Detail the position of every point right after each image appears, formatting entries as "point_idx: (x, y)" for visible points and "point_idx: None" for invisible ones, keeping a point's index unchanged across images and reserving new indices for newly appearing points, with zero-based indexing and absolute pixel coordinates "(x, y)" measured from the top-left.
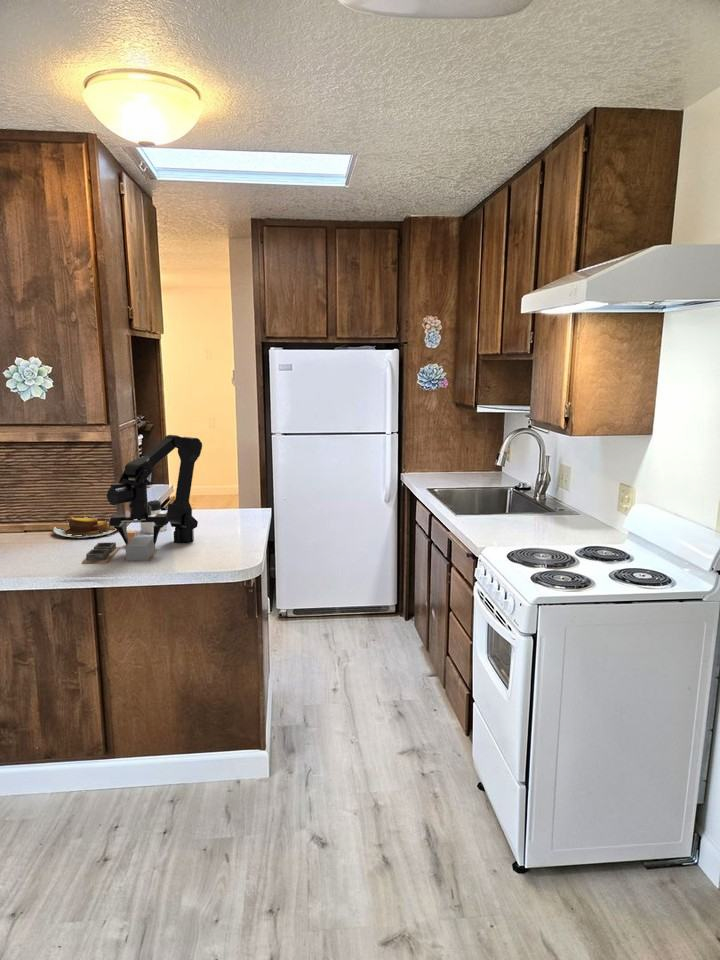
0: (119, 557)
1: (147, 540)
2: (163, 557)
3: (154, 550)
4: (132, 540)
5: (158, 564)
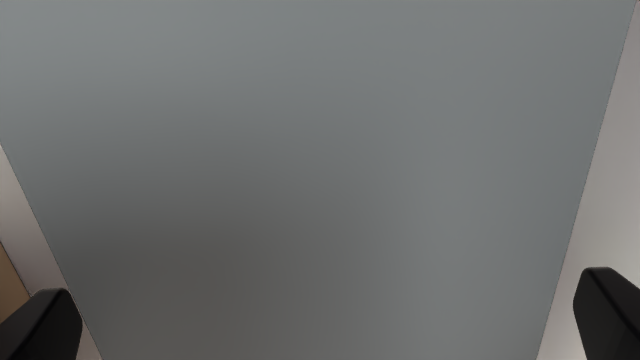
0: None
1: (458, 329)
2: (623, 157)
3: None
4: (127, 325)
5: (556, 349)
